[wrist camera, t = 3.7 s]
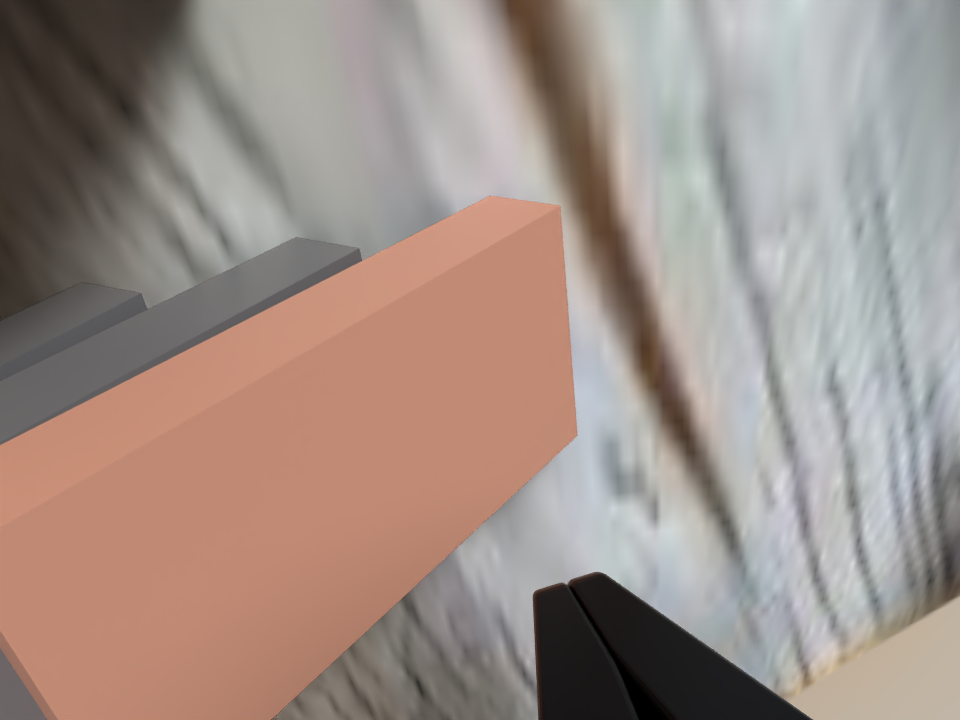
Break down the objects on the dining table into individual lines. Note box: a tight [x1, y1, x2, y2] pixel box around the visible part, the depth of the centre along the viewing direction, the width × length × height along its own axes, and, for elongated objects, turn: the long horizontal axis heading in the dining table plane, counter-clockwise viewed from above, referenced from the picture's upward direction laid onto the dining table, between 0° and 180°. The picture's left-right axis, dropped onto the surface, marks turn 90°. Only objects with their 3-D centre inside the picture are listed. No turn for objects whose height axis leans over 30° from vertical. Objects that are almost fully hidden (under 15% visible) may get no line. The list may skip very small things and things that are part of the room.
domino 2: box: [0, 196, 577, 720], centre depth 12 cm, size 2×5×10 cm
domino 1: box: [0, 237, 362, 720], centre depth 11 cm, size 2×5×10 cm
